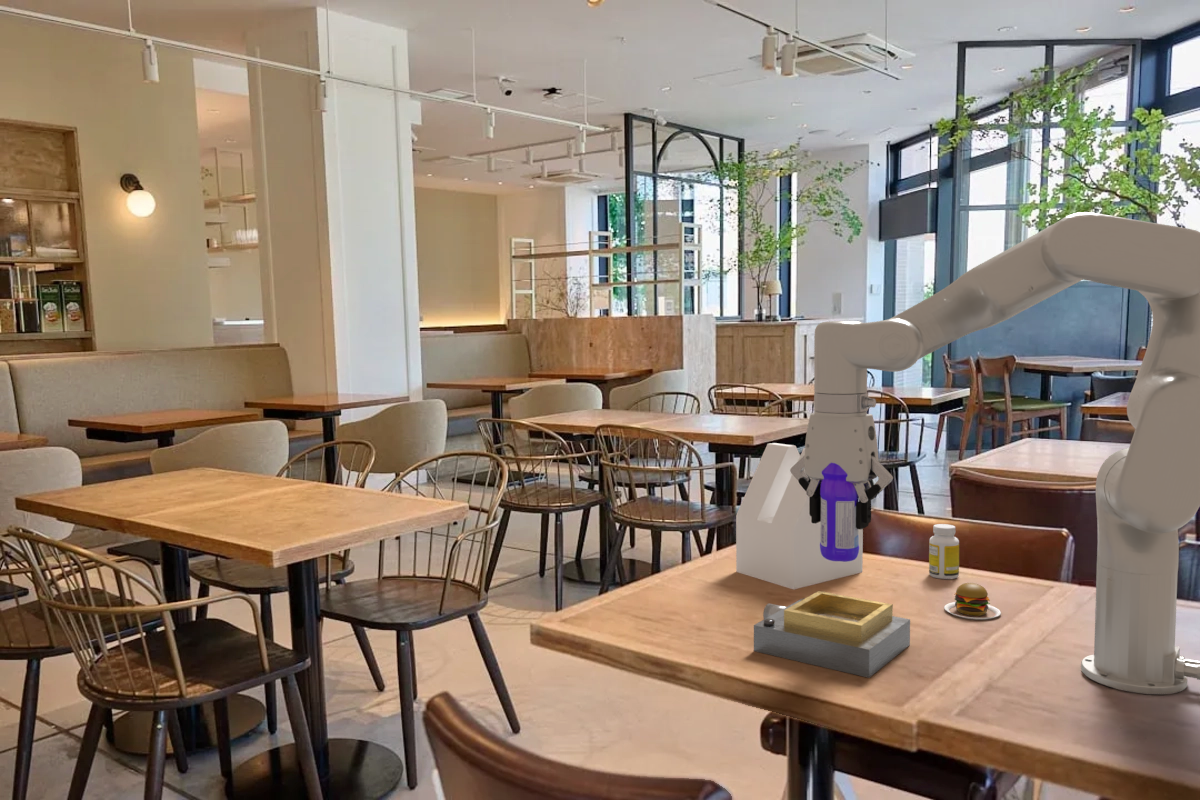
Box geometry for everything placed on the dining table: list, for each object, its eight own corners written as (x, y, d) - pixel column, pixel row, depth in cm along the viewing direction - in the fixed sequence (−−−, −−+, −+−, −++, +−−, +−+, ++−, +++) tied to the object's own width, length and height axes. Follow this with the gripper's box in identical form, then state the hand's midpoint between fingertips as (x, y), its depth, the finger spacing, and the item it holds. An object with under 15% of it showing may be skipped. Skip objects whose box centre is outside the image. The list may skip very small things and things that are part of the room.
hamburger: (989, 633, 147) (990, 599, 146) (920, 615, 156) (921, 584, 155) (1023, 616, 154) (1024, 584, 154) (956, 600, 163) (956, 570, 163)
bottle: (860, 564, 133) (861, 445, 132) (820, 562, 134) (821, 444, 133) (857, 551, 140) (858, 438, 139) (819, 550, 141) (819, 438, 140)
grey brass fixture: (909, 644, 140) (910, 603, 139) (869, 677, 127) (869, 632, 127) (779, 618, 153) (779, 580, 153) (730, 645, 141) (730, 604, 140)
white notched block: (803, 557, 193) (804, 439, 191) (862, 572, 181) (863, 446, 179) (736, 572, 182) (735, 447, 180) (793, 590, 170) (793, 456, 168)
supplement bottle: (961, 574, 178) (962, 524, 177) (955, 581, 173) (956, 530, 172) (932, 570, 181) (933, 521, 180) (925, 577, 176) (926, 527, 175)
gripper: (907, 405, 133) (906, 527, 135) (797, 400, 144) (797, 513, 145) (888, 409, 127) (887, 537, 129) (775, 404, 138) (775, 522, 139)
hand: (839, 523), depth 137 cm, fingers closed on bottle, 6 cm apart
